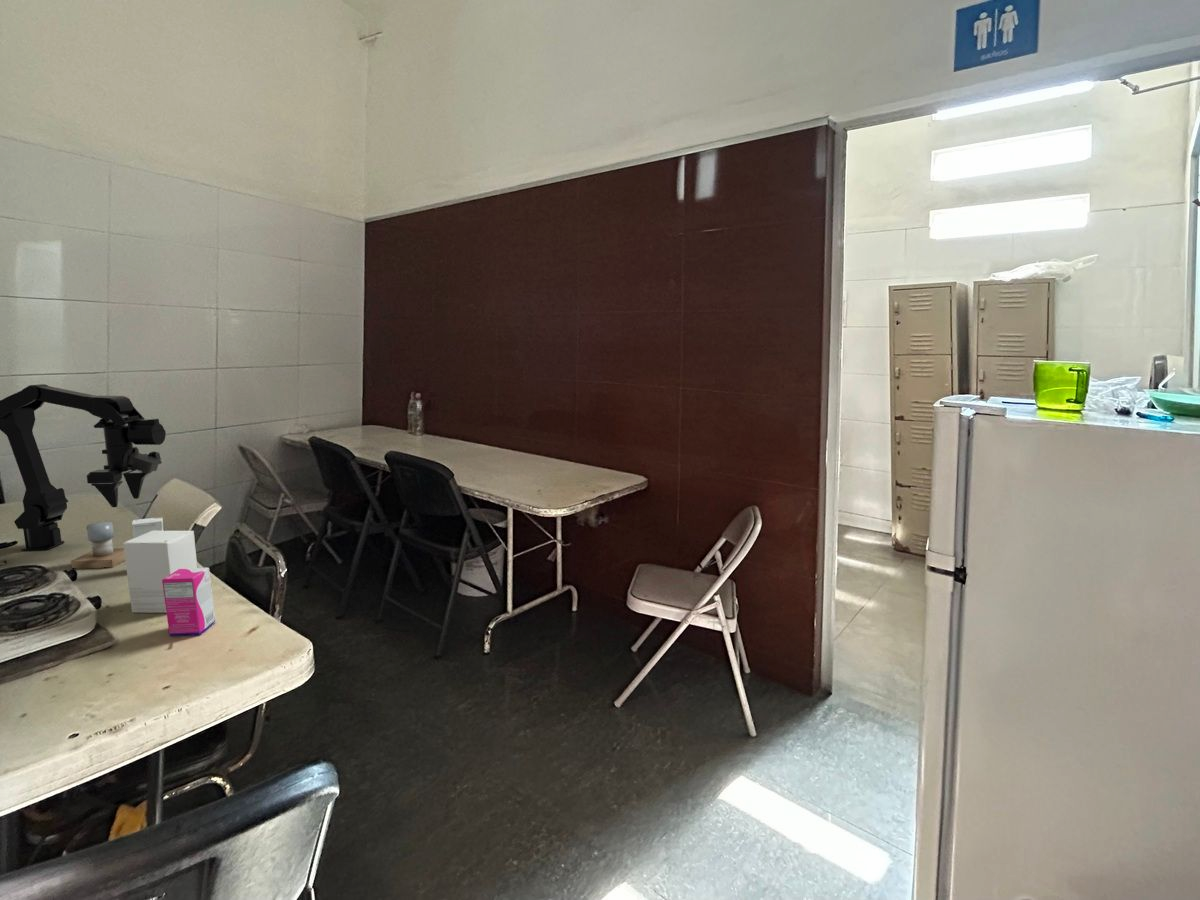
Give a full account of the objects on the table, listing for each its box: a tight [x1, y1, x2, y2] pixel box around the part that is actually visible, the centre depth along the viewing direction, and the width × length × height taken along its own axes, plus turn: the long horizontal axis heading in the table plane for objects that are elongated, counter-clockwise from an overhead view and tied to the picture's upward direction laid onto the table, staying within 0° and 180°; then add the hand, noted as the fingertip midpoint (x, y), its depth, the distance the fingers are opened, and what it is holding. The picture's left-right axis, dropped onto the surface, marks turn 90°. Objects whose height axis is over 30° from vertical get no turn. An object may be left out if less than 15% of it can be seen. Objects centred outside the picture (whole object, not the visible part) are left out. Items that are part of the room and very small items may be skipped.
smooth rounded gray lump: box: [86, 521, 115, 542], centre depth 154 cm, size 5×5×4 cm
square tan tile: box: [70, 538, 126, 570], centre depth 155 cm, size 9×9×6 cm
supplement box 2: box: [162, 567, 216, 637], centre depth 119 cm, size 6×6×12 cm
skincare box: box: [131, 516, 164, 539], centre depth 151 cm, size 6×4×12 cm
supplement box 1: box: [122, 530, 198, 614], centre depth 130 cm, size 9×9×15 cm
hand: (125, 502), depth 166 cm, fingers open, 9 cm apart
